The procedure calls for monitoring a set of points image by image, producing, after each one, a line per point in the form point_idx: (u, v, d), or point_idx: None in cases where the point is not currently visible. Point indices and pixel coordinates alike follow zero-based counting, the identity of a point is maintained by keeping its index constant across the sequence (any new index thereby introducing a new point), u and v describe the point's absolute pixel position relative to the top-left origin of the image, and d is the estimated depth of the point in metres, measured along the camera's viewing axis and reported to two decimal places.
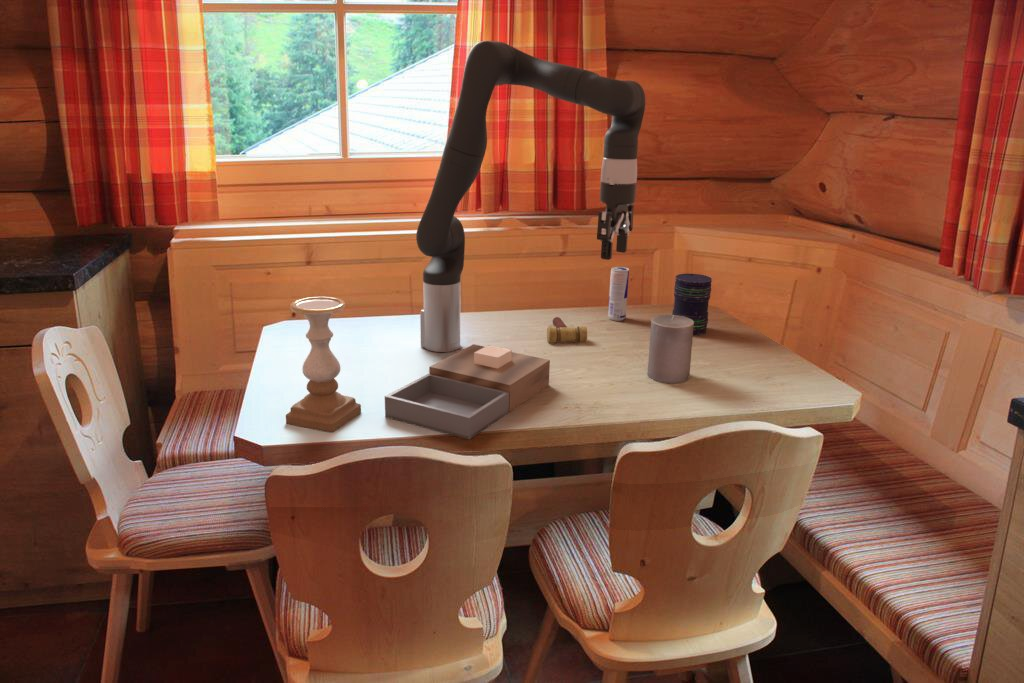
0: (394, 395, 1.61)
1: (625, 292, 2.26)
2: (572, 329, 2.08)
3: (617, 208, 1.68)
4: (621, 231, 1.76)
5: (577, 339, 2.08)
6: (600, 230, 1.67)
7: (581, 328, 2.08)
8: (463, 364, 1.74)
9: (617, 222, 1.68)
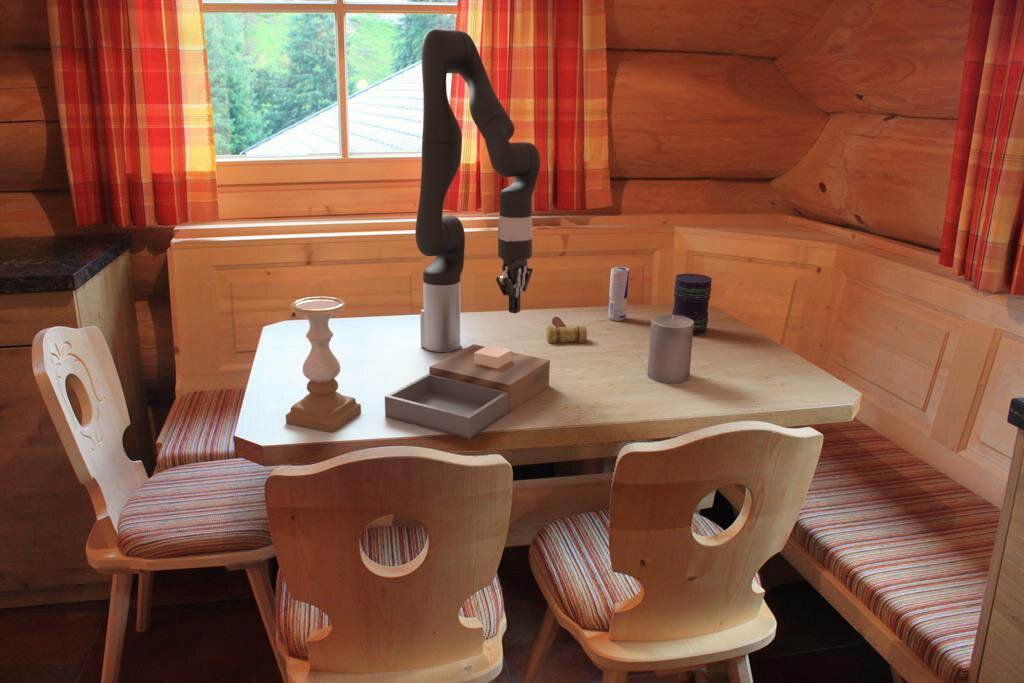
0: (394, 395, 1.61)
1: (625, 292, 2.26)
2: (572, 329, 2.08)
3: (514, 264, 1.75)
4: None
5: (577, 339, 2.09)
6: None
7: (580, 328, 2.08)
8: (463, 364, 1.74)
9: (517, 279, 1.76)
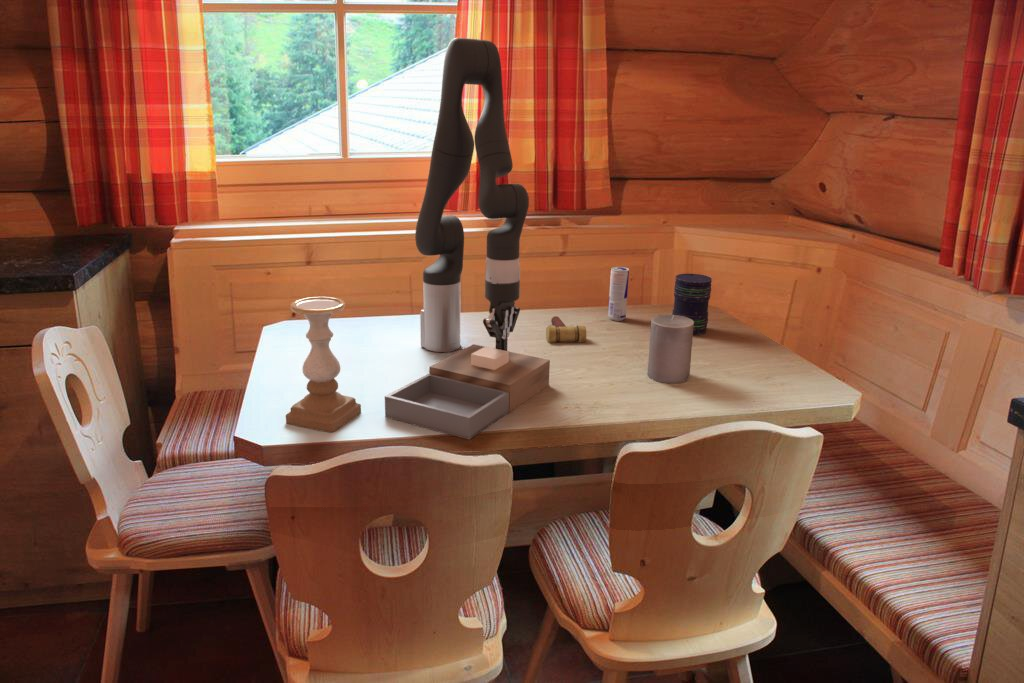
0: (394, 395, 1.61)
1: (625, 292, 2.26)
2: (571, 328, 2.09)
3: (501, 306, 1.72)
4: None
5: (576, 338, 2.09)
6: None
7: (580, 327, 2.09)
8: (463, 364, 1.74)
9: (504, 321, 1.74)
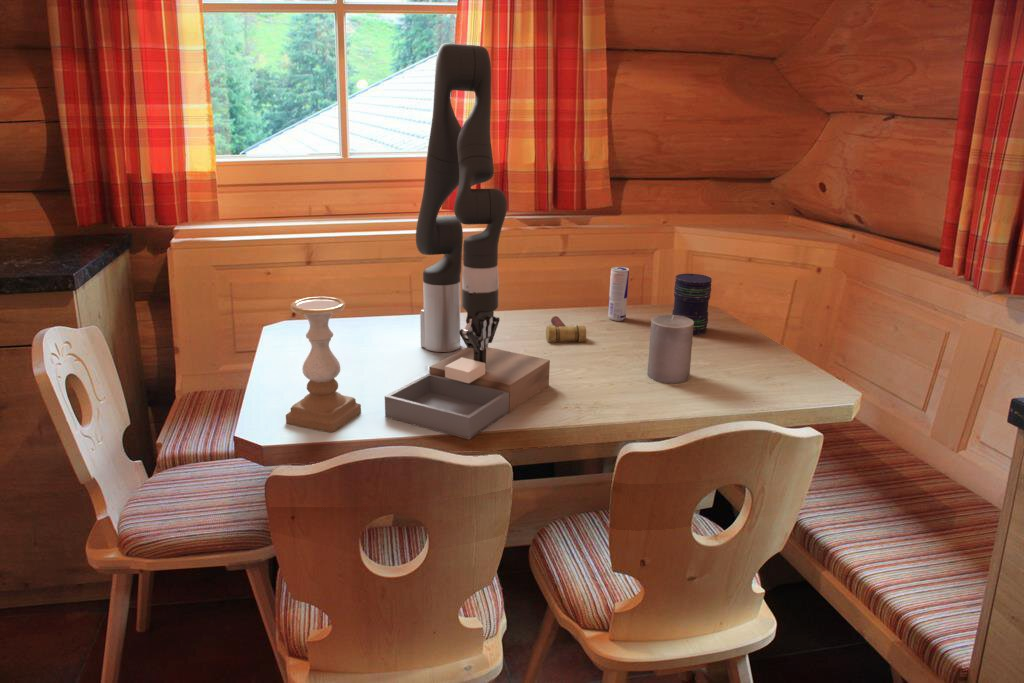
0: (394, 395, 1.61)
1: (625, 292, 2.26)
2: (571, 328, 2.09)
3: (479, 316, 1.65)
4: None
5: (576, 338, 2.09)
6: None
7: (580, 327, 2.09)
8: None
9: (481, 332, 1.66)
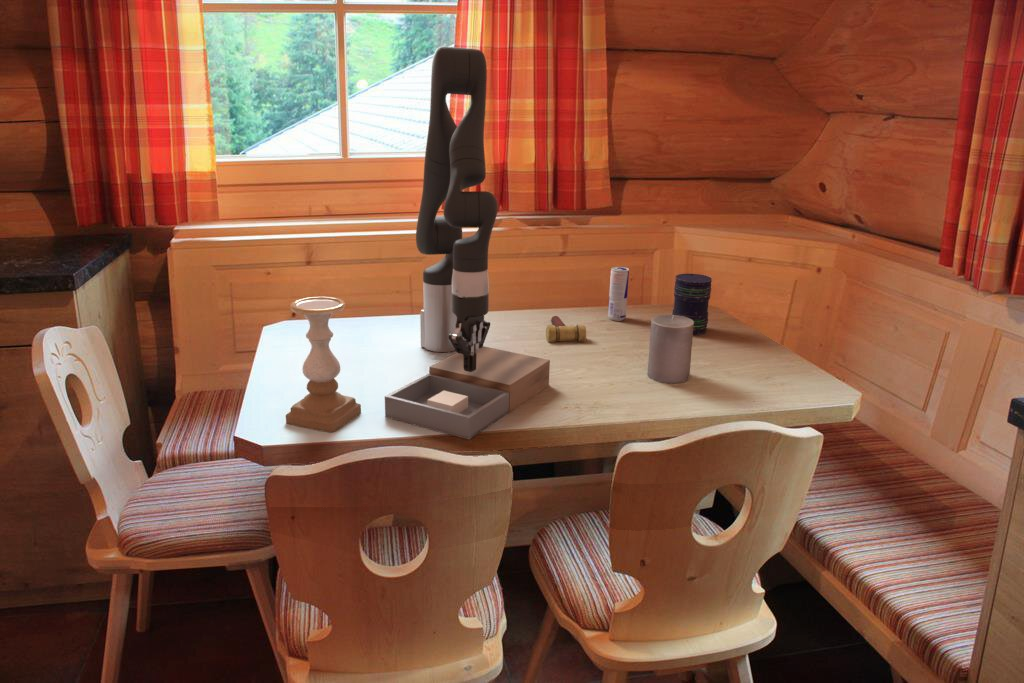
0: (394, 395, 1.61)
1: (625, 292, 2.26)
2: (571, 328, 2.09)
3: (469, 320, 1.62)
4: None
5: (576, 338, 2.09)
6: None
7: (580, 327, 2.09)
8: (463, 364, 1.74)
9: (471, 337, 1.63)
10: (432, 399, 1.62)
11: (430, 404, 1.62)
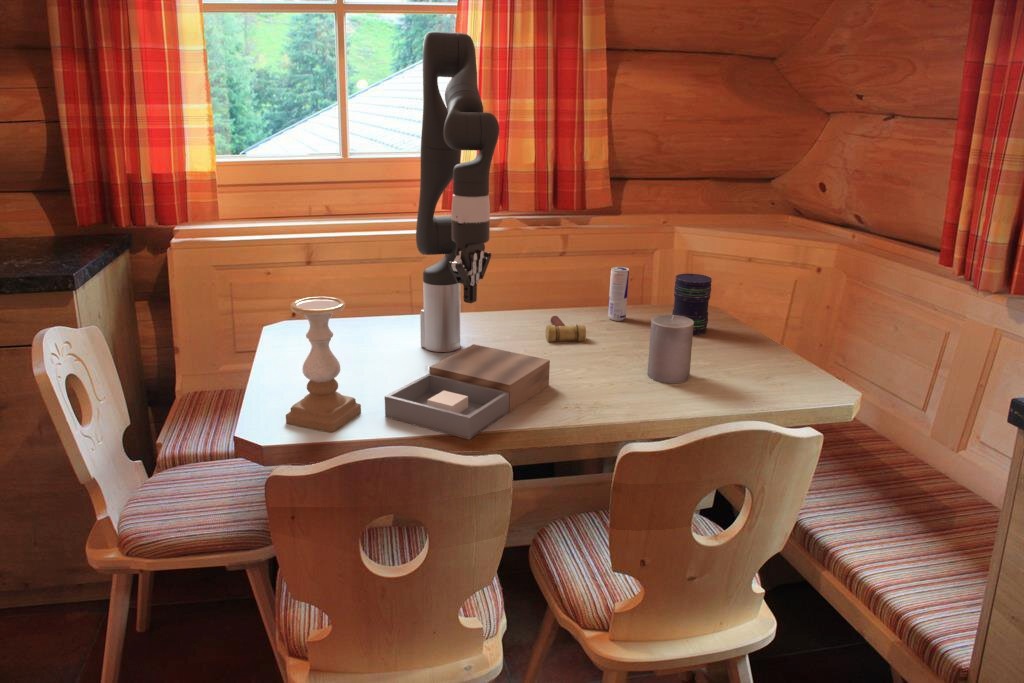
0: (394, 395, 1.61)
1: (625, 292, 2.26)
2: (571, 328, 2.09)
3: (469, 248, 1.57)
4: None
5: (576, 337, 2.09)
6: None
7: (579, 326, 2.09)
8: (463, 364, 1.74)
9: (472, 265, 1.58)
10: (432, 399, 1.62)
11: (430, 404, 1.62)
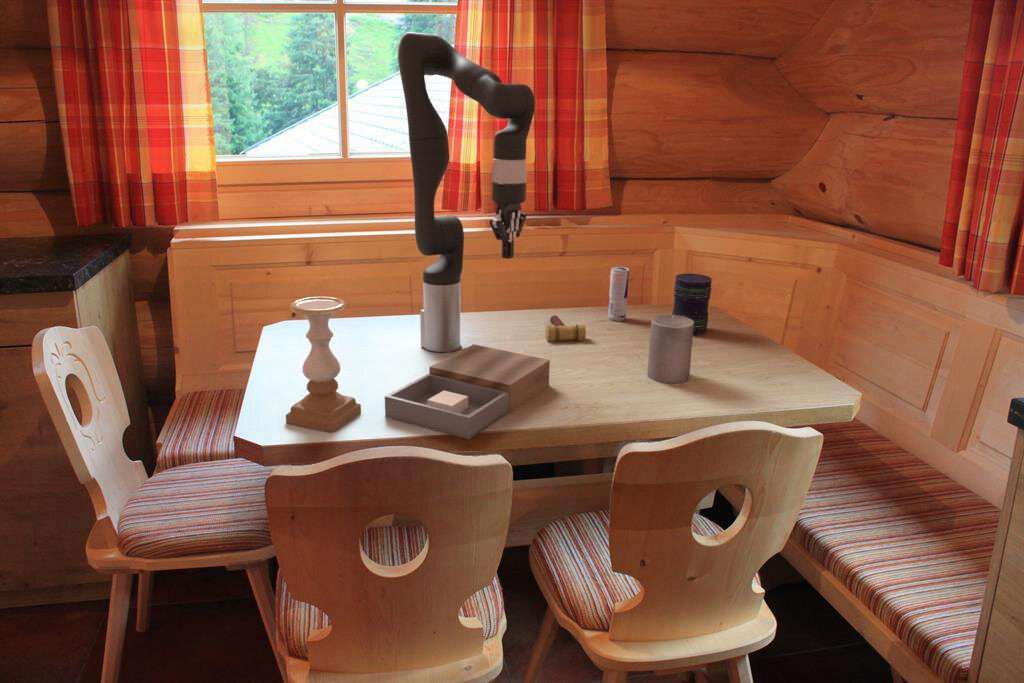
0: (394, 395, 1.61)
1: (625, 292, 2.26)
2: (571, 327, 2.09)
3: (508, 207, 1.74)
4: None
5: (576, 337, 2.10)
6: None
7: (579, 326, 2.09)
8: (463, 364, 1.74)
9: (510, 223, 1.75)
10: (432, 399, 1.62)
11: (430, 404, 1.62)
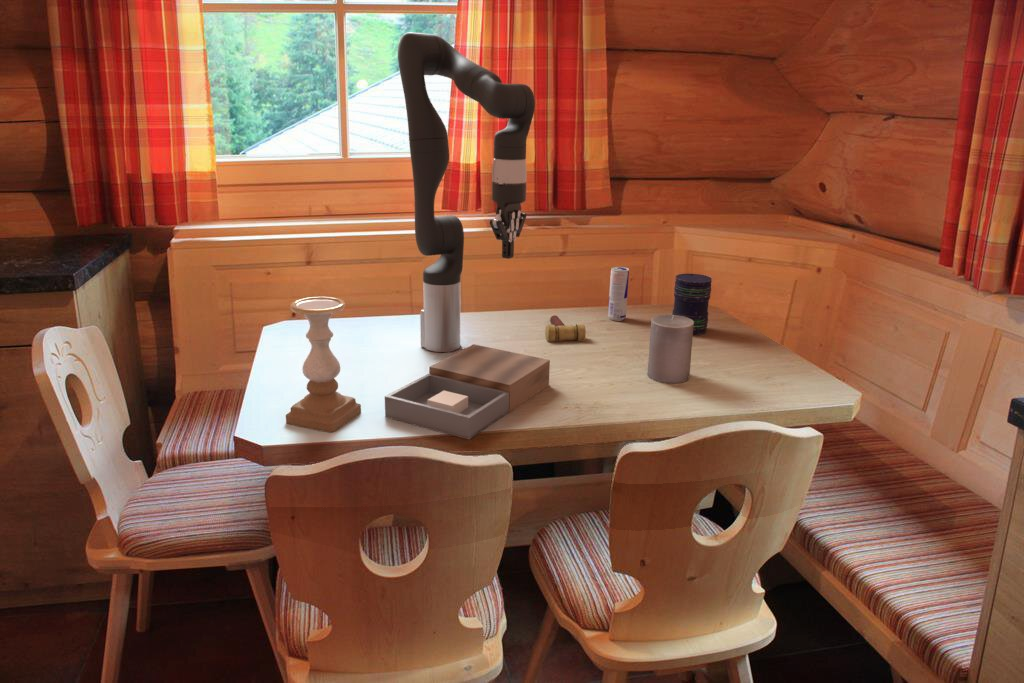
0: (394, 395, 1.61)
1: (625, 292, 2.26)
2: (570, 327, 2.09)
3: (508, 207, 1.74)
4: None
5: (575, 337, 2.10)
6: (497, 233, 1.75)
7: (579, 326, 2.10)
8: (463, 364, 1.74)
9: (510, 223, 1.75)
10: (432, 399, 1.62)
11: (430, 404, 1.62)
